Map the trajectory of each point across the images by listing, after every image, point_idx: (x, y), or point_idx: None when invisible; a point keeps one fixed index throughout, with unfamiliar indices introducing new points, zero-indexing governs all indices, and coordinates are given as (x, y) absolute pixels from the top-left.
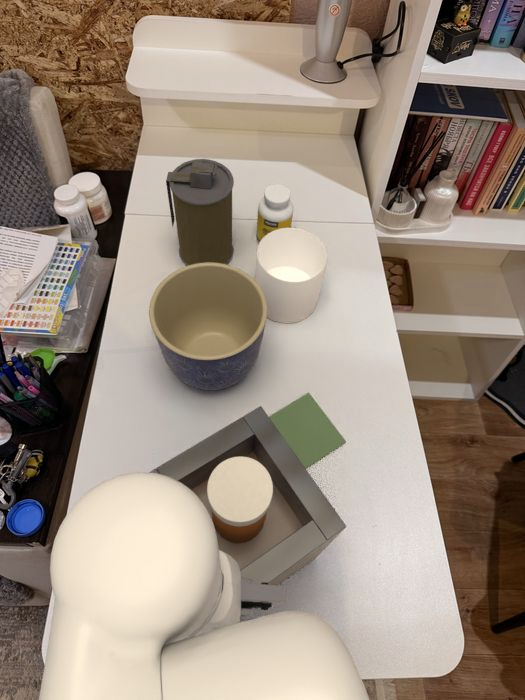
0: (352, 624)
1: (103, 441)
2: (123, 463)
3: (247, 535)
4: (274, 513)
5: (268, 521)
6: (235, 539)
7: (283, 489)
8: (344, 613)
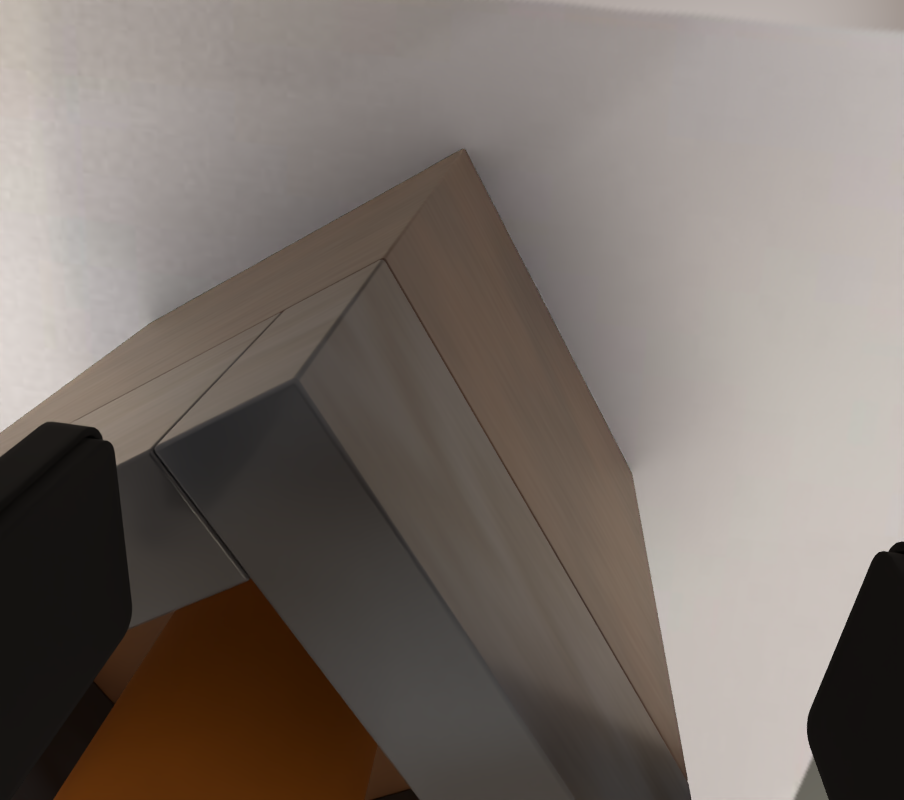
0: (27, 116)
1: (783, 700)
2: (729, 639)
3: (172, 691)
4: (132, 644)
5: (154, 623)
6: (261, 635)
7: (63, 768)
8: (54, 152)
